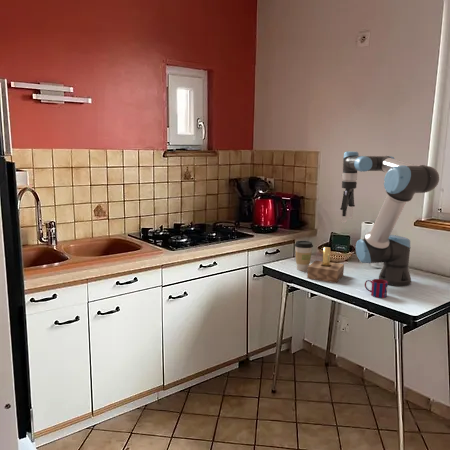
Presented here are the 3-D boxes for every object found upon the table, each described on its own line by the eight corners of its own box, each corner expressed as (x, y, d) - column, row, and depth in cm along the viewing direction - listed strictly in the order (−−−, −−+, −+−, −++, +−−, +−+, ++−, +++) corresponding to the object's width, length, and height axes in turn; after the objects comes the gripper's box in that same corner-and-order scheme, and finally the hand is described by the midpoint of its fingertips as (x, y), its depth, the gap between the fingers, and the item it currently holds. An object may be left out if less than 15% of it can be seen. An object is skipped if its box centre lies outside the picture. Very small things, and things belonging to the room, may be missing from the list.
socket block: (343, 275, 238) (344, 264, 237) (336, 282, 226) (337, 270, 224) (315, 271, 244) (315, 260, 243) (307, 278, 232) (307, 266, 231)
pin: (329, 274, 236) (331, 247, 234) (328, 275, 232) (329, 248, 230) (322, 273, 237) (324, 246, 235) (321, 274, 234) (322, 247, 232)
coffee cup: (311, 272, 242) (313, 245, 239) (293, 271, 244) (294, 243, 241) (312, 267, 251) (313, 240, 249) (294, 266, 253) (295, 239, 251)
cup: (382, 299, 203) (384, 284, 202) (361, 293, 209) (362, 279, 208) (389, 295, 208) (390, 281, 207) (368, 290, 214) (369, 276, 213)
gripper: (347, 178, 255) (345, 216, 259) (336, 182, 233) (334, 223, 237) (361, 179, 251) (358, 217, 255) (351, 183, 230) (348, 224, 234)
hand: (346, 220), depth 246 cm, fingers open, 13 cm apart
